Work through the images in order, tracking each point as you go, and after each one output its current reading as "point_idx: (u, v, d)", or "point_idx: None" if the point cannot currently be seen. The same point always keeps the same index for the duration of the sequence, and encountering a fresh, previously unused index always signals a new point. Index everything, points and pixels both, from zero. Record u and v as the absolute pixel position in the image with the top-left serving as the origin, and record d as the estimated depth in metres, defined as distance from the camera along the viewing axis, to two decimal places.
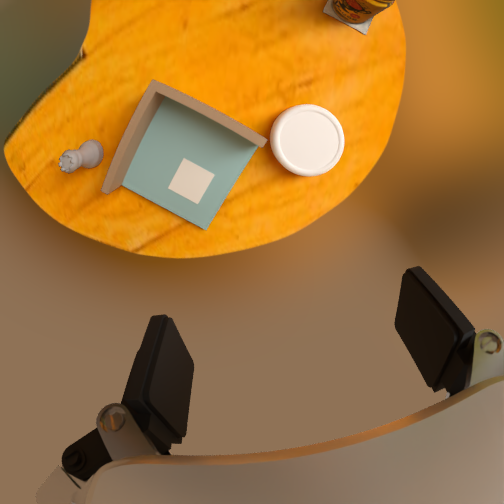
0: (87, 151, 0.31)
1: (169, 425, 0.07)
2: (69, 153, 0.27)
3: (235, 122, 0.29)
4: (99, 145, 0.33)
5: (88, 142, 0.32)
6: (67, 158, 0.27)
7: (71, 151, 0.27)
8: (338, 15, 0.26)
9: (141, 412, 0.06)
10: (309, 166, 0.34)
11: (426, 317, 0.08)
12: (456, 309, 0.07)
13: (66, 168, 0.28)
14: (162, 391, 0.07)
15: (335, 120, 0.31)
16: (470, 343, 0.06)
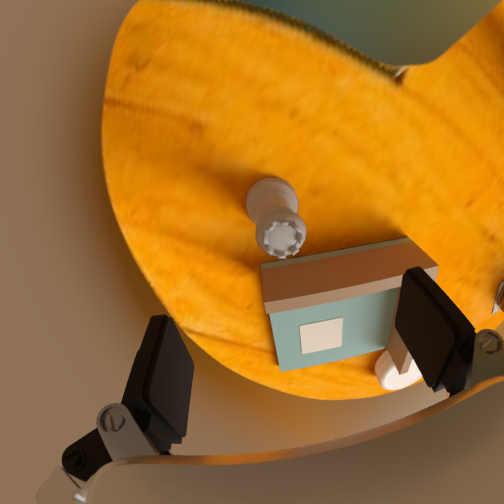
0: None
1: (169, 425, 0.07)
2: (302, 233, 0.17)
3: None
4: None
5: (294, 197, 0.21)
6: (292, 237, 0.16)
7: (304, 230, 0.17)
8: (500, 293, 0.30)
9: (141, 412, 0.06)
10: (390, 383, 0.33)
11: (426, 317, 0.08)
12: (456, 309, 0.07)
13: (270, 244, 0.17)
14: (162, 391, 0.07)
15: None
16: (470, 343, 0.06)
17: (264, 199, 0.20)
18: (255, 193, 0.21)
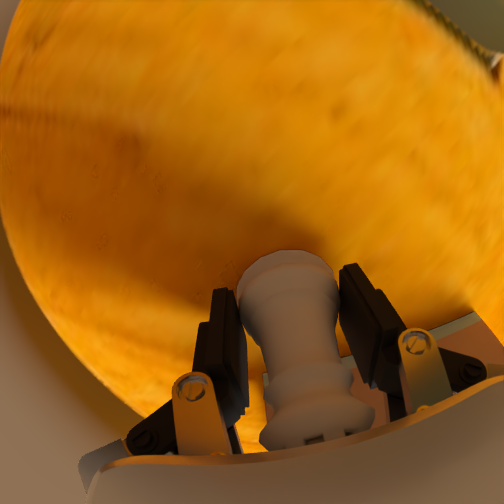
0: None
1: (239, 393, 0.08)
2: None
3: None
4: None
5: (336, 295, 0.10)
6: None
7: (372, 422, 0.06)
8: None
9: (218, 379, 0.07)
10: None
11: (356, 313, 0.09)
12: (382, 306, 0.08)
13: None
14: (235, 357, 0.08)
15: None
16: None
17: (278, 317, 0.09)
18: (256, 292, 0.10)
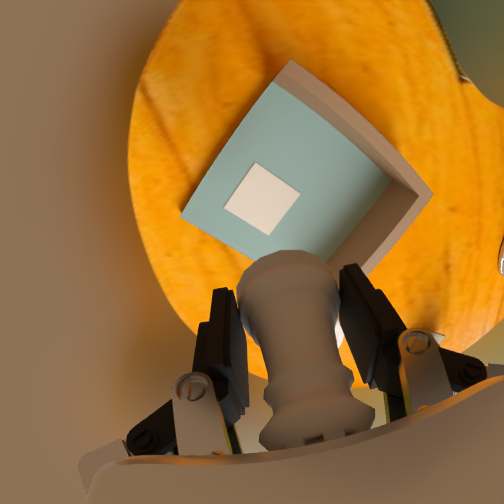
0: None
1: (240, 393, 0.08)
2: None
3: None
4: None
5: (336, 295, 0.10)
6: None
7: None
8: None
9: (218, 379, 0.07)
10: None
11: (356, 313, 0.09)
12: (382, 306, 0.08)
13: None
14: (235, 357, 0.08)
15: None
16: None
17: (278, 317, 0.09)
18: (256, 292, 0.10)
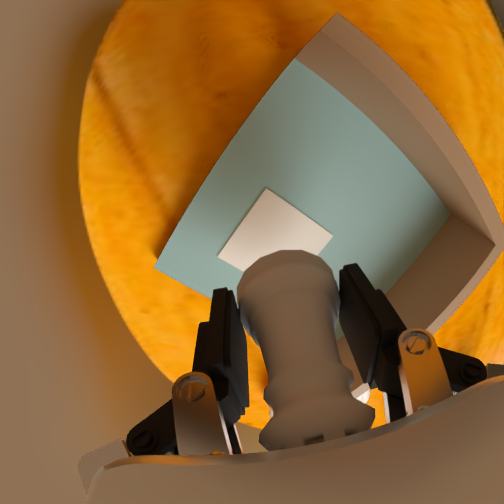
0: None
1: (240, 393, 0.08)
2: None
3: None
4: None
5: (336, 295, 0.10)
6: None
7: (372, 423, 0.06)
8: None
9: (218, 379, 0.07)
10: None
11: (356, 313, 0.09)
12: (382, 306, 0.08)
13: None
14: (235, 357, 0.08)
15: None
16: None
17: (278, 317, 0.09)
18: (256, 292, 0.10)
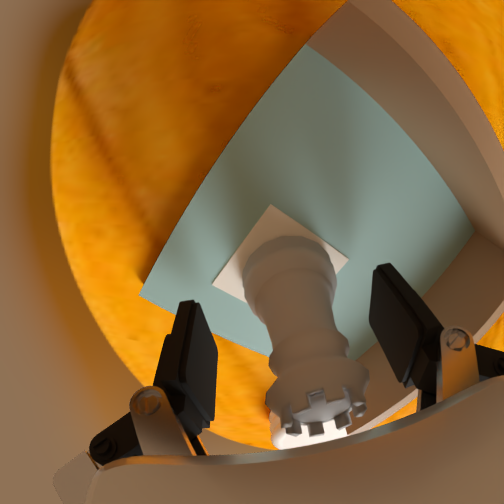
0: None
1: (200, 407, 0.08)
2: None
3: (407, 402, 0.12)
4: None
5: (333, 276, 0.11)
6: (344, 408, 0.06)
7: (367, 385, 0.07)
8: None
9: (175, 394, 0.07)
10: (288, 439, 0.19)
11: (393, 312, 0.08)
12: (422, 305, 0.07)
13: (297, 419, 0.07)
14: (195, 373, 0.08)
15: None
16: (438, 339, 0.07)
17: (281, 293, 0.10)
18: (260, 272, 0.11)
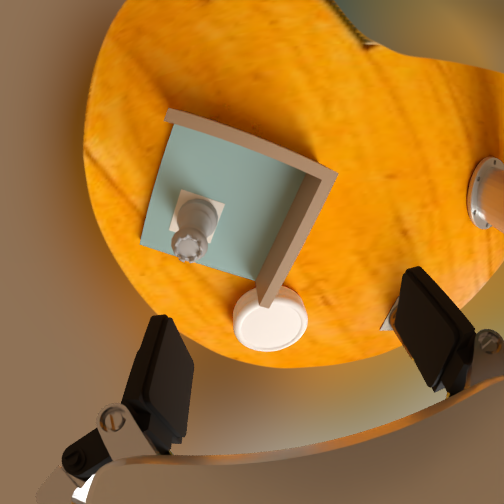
0: (207, 230, 0.26)
1: (169, 425, 0.07)
2: (201, 241, 0.22)
3: (284, 277, 0.28)
4: (216, 218, 0.29)
5: (209, 211, 0.27)
6: (194, 245, 0.22)
7: (204, 238, 0.23)
8: (395, 308, 0.39)
9: (141, 412, 0.06)
10: (245, 333, 0.35)
11: (426, 317, 0.08)
12: (456, 309, 0.07)
13: (182, 254, 0.23)
14: (162, 391, 0.07)
15: (296, 340, 0.36)
16: (470, 343, 0.06)
17: (183, 219, 0.26)
18: (179, 215, 0.27)
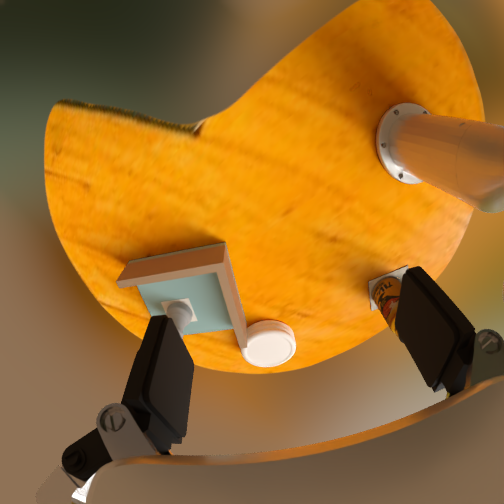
0: (183, 322, 0.41)
1: (169, 425, 0.07)
2: None
3: (240, 329, 0.40)
4: (189, 308, 0.43)
5: (179, 309, 0.41)
6: None
7: None
8: (372, 291, 0.45)
9: (141, 412, 0.06)
10: (254, 360, 0.47)
11: (426, 317, 0.08)
12: (456, 309, 0.07)
13: None
14: (162, 391, 0.07)
15: (293, 351, 0.47)
16: (470, 343, 0.06)
17: None
18: None
